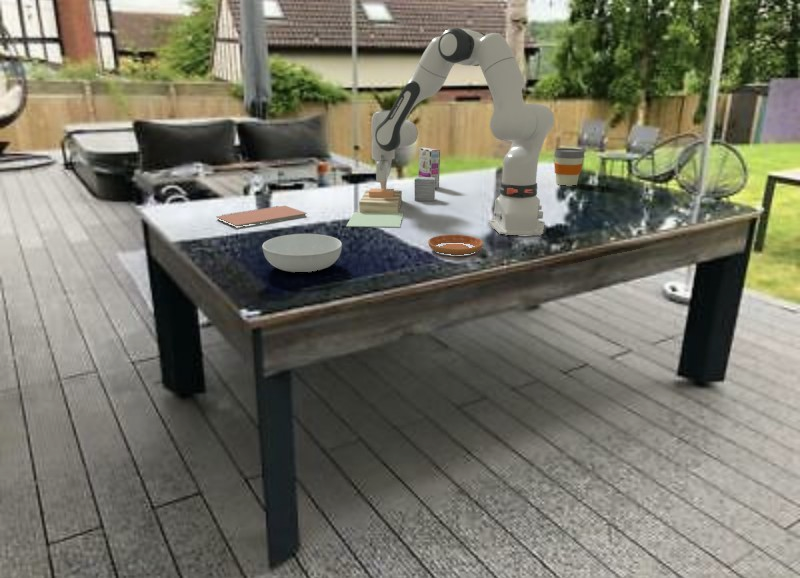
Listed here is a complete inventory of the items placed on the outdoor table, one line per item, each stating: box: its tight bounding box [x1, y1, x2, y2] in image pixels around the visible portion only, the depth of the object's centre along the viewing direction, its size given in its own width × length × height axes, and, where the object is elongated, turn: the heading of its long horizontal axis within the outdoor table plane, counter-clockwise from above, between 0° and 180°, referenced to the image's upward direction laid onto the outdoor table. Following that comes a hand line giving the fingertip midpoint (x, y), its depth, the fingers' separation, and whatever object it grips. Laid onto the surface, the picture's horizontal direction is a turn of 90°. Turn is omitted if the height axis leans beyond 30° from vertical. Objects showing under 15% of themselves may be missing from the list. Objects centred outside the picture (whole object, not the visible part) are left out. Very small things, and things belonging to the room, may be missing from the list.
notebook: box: [215, 205, 307, 226], centre depth 222 cm, size 27×17×2 cm, turn 129°
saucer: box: [428, 234, 484, 255], centre depth 184 cm, size 16×16×3 cm
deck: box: [358, 189, 403, 213], centre depth 238 cm, size 22×14×4 cm, turn 176°
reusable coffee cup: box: [553, 147, 585, 187], centre depth 277 cm, size 13×13×15 cm
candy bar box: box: [418, 147, 441, 189], centre depth 272 cm, size 11×5×16 cm, turn 25°
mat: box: [345, 211, 404, 228], centre depth 219 cm, size 20×18×1 cm
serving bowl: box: [261, 233, 343, 273], centre depth 168 cm, size 21×21×7 cm
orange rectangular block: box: [369, 188, 395, 197], centre depth 238 cm, size 6×9×2 cm, turn 86°
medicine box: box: [414, 176, 436, 202], centre depth 248 cm, size 8×4×9 cm, turn 84°
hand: (383, 190), depth 245 cm, fingers closed
